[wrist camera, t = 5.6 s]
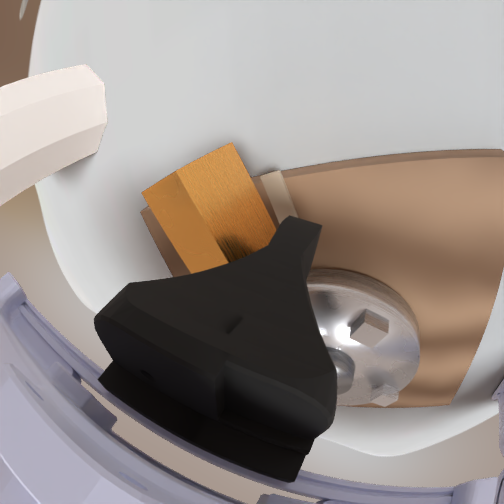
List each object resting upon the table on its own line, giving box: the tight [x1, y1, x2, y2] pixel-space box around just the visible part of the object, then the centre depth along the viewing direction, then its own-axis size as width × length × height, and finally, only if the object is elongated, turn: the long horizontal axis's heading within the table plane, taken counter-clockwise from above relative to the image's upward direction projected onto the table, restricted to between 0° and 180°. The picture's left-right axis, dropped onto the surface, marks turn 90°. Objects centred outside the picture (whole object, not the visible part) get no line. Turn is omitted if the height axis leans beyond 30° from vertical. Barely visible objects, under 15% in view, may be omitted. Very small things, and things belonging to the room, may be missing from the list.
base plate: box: [141, 149, 504, 408], centre depth 17 cm, size 22×22×2 cm
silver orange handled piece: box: [142, 142, 420, 407], centre depth 13 cm, size 20×12×6 cm, turn 29°
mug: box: [0, 64, 108, 206], centre depth 13 cm, size 12×9×10 cm
